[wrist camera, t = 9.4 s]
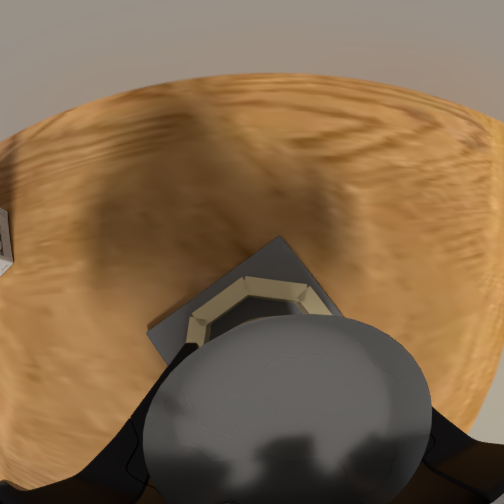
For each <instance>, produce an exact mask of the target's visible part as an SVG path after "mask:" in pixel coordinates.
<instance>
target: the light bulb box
mask: <svg viewBox="0 0 504 504" xmlns="http://www.w3.org/2000/svg"><path fill="white" fill-rule="evenodd" d="M12 264H13V257H12V251H11V243H10V235H9V226H8V212H7V211H5V210H4V209H2V208H0V276H1V275H2V274H3V273H4V272H5V271H6V270H7V269H8V268H9V267H10V266H11V265H12Z"/></svg>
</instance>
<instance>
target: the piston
mask: <svg viewBox="0 0 504 504" xmlns="http://www.w3.org/2000/svg"><path fill="white" fill-rule="evenodd" d="M431 423H432V405H431V396H430V392H429V388H428V385H427V382H426V379H425V377H424V375H423V373H422V371H421V369H420V367H419V366H418V364H417V363H416V361H415V360H414V358H413V357H412V355H411V354H410V353H409V352H408V351H407V350H406V349H405V348H404V347H403V346H402V345H401V344H400V343H398V342H397V341H396V340H394V339H393V338H392V337H390V336H389V335H388V334H386V333H384V332H382V331H380V330H378V329H377V328H375V327H373V326H370V325H368V324H365V323H362V322H359V321H356V320H353V319H348V318H344V317H339V316H334V315H321V314H299V315H282V316H267V317H257V318H253V319H249V320H247V321H245V322H243V323H241V324H240V325H238V326H236V327H234V328H233V329H231V330H229V331H227V332H225V333H224V334H222V335H220V336H218V337H217V338H215V339H213V340H211V341H209V342H207V343H206V344H204V345H203V346H201V347H200V348H198V349H197V350H196V351H194V352H193V353H192V354H190V355H189V356H187V357H186V358H185V359H184V360H183V361H182V362H181V363H180V364H179V365H178V366H177V367H176V368H175V369H174V370H173V371H172V372H171V373H170V374H169V376H168V377H167V378H166V379H165V381H164V382H163V383H162V385H161V386H160V388H159V389H158V391H157V393H156V395H155V396H154V398H153V400H152V402H151V405H150V407H149V410H148V413H147V416H146V420H145V425H144V431H143V451H144V457H145V463H146V466H147V469H148V472H149V475H150V477H151V479H152V481H153V483H154V485H155V487H156V489H157V490H158V492H159V493H160V495H161V496H162V497H163V499H164V500H165V501H166V502H167V504H389V503H390V502H391V501H392V500H393V499H394V498H395V497H396V496H397V495H398V494H399V493H400V492H401V491H402V489H403V488H404V487H405V486H406V484H407V483H408V482H409V480H410V479H411V477H412V476H413V474H414V473H415V471H416V469H417V468H418V466H419V464H420V461H421V459H422V457H423V455H424V452H425V450H426V447H427V444H428V440H429V436H430V430H431Z"/></svg>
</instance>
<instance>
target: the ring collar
mask: <svg viewBox="0 0 504 504" xmlns="http://www.w3.org/2000/svg"><path fill="white" fill-rule="evenodd" d="M299 314H321V315H334V316H339V317H343V316H342V314H341V313H340V312H339V310H338V309H337V308H336V306H335V305H334V304H333V302H332V301H331V300H330V298H329V297H328V296H327V295H326V293H325V292H324V291H323V289H322V288H321V287H320V285H319V284H318V283H317V282H316V280H315V279H314V278H313V276H312V275H311V274H310V273H309V271H308V270H307V269H306V267H305V266H304V265H303V264H302V262H301V261H300V260H299V259H298V257H297V256H296V255H295V253H294V252H293V251H292V250H291V248H290V247H289V246H288V245H287V243H286V242H285V241H284V240H283V238H282V237H281V236H280V235H279V236H278V237H277V238H275V239H274V240H273V241H271V242H270V243H268V244H267V245H266V246H264V247H263V248H262V249H260V250H259V251H258V252H256V253H255V254H253V255H252V256H251V257H249V258H248V259H247V260H245V261H244V262H242V263H241V264H240V265H238V266H237V267H236V268H234V269H233V270H232V271H230V272H229V273H227V274H226V275H225V276H223V277H222V278H221V279H219V280H218V281H216V282H215V283H214V284H212V285H211V286H210V287H208V288H207V289H205V290H204V291H203V292H201V293H200V294H199V295H197V296H196V297H194V298H193V299H192V300H190V301H189V302H188V303H186V304H185V305H184V306H182V307H181V308H179V309H178V310H177V311H175V312H174V313H173V314H171V315H170V316H168V317H167V318H166V319H164V320H163V321H161V322H160V323H159V324H157V325H156V326H155V327H153V328H152V329H150V330H149V331H148V332H146V334H147V336H148V337H149V339H150V340H151V342H152V343H153V345H154V346H155V348H156V349H157V351H158V352H159V354H160V355H161V356H162V358H163V359H164V361H165V362H166V364H167V365H169V364H170V363H171V361H172V360H173V359H174V357H175V356H176V355H177V353H178V352H179V351H180V349H181V348H182V346H183V345H184V344H185V343H187V342H190V343H197V344H198V345H199V348H200V347H201V346H203V345H204V344H206V343H207V342H209V341H211V340H213V339H215V338H217V337H218V336H220V335H222V334H224V333H225V332H227V331H229V330H231V329H233V328H234V327H236V326H238V325H240V324H241V323H243V322H245V321H247V320H249V319H253V318H257V317H267V316H282V315H299Z"/></svg>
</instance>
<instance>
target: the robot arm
mask: <svg viewBox="0 0 504 504" xmlns="http://www.w3.org/2000/svg"><path fill="white" fill-rule="evenodd" d="M198 348H199V345H198V344H197V343H190V342H187V343H185V344H184V345H183V346H182V348H181V349H180V351H179V352H178V353H177V355H176V356H175V357H174V359H173V360H172V361H171V363H170V364H169V365H168V367H167V368H166V369H165V371H164V372H163V373H162V375H161V376H160V377H159V379H158V380H157V382H156V383H155V384H154V386H153V387H152V388H151V390H150V391H149V392H148V394H147V395H146V396H145V398H144V399H143V400H142V402H141V403H140V404H139V406H138V407H137V409H136V410H135V411H134V413H133V414H132V415H131V417H130V418H131V419H130V418H129V419H128V420H127V422H126V423H125V425H124V426H123V427H122V428H121V430H120V431H119V432H118V433H117V435H116V436H115V437H114V438H113V439H112V440H111V442H110V443H109V444H108V445H107V446H106V447H105V448H104V449H103V450H102V451H101V452H100V453H99V454H98V455H97V456H96V457H95V458H94V459H93V460H92V461H91V462H90V463H89V464H88V465H87V466H86V467H85V468H84V469H83V470H82V471H81V472H79V473H78V474H76V475H74V476H72V477H70V478H67V479H65V480H62V481H59V482H56V483H53V484H49V485H46V486H43V487H39V488H36V489H32V490H27V489H25V488H23V487H21V486H19V485H17V484H15V483H13V482H10V481H8V480H2V481H0V504H167V502H166V501H165V500H164V499H163V497H162V496H161V495H160V493H159V492H158V490H157V489H156V487H155V485H154V483H153V481H152V479H151V477H150V475H149V472H148V469H147V466H146V463H145V457H144V451H143V431H144V425H145V420H146V416H147V413H148V410H149V407H150V405H151V402H152V400H153V398H154V396H155V395H156V393H157V391H158V389H159V388H160V386H161V385H162V383H163V382H164V381H165V379H166V378H167V377H168V376H169V374H170V373H171V372H172V371H173V370H174V369H175V368H176V367H177V366H178V365H179V364H180V363H181V362H182V361H183V360H184V359H185V358H186V357H187V356H189V355H190V354H192V353H193V352H194V351H196V350H197V349H198ZM389 504H504V445H503V444H494V443H485V442H481V441H477V440H475V439H473V438H471V437H470V436H468V435H467V434H465V433H464V432H463V431H462V430H460V429H459V428H458V427H456V426H455V425H454V424H453V423H451V422H450V421H449V420H447V419H446V418H445V417H444V416H443V415H441V414H440V413H439V412H438V411H437V410H436V409H435V408H433V407H432V423H431V430H430V436H429V440H428V444H427V447H426V450H425V452H424V455H423V457H422V459H421V461H420V464H419V466H418V468H417V469H416V471H415V473H414V474H413V476H412V477H411V479H410V480H409V482H408V483H407V484H406V486H405V487H404V488H403V489H402V491H401V492H400V493H399V494H398V495H397V496H396V497H395V498H394V499H393V500H392V501H391V502H390V503H389Z"/></svg>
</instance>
